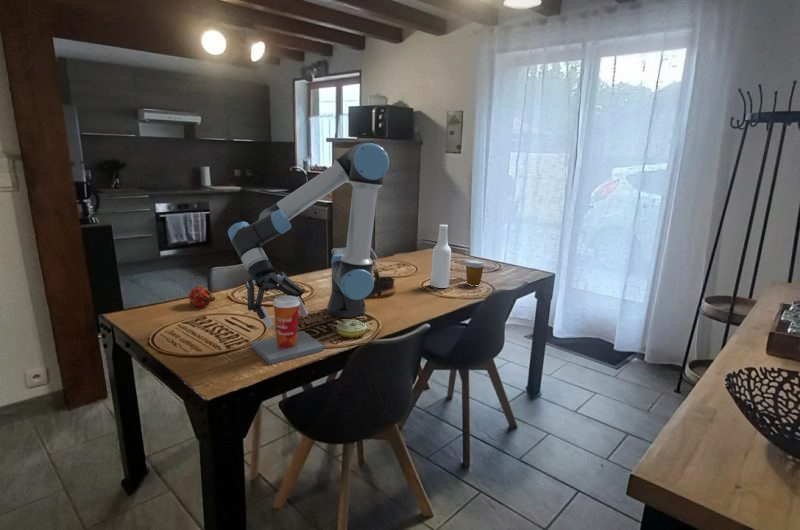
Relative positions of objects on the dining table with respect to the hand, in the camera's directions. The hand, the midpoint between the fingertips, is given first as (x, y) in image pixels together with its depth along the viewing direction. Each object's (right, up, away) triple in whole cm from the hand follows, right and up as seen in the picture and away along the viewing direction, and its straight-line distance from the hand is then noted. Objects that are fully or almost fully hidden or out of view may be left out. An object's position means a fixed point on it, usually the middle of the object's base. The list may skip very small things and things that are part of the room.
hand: (288, 320), depth 141 cm
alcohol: (+54, +7, +77) cm, 94 cm away
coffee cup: (-1, -8, +3) cm, 8 cm away
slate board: (-1, -9, +3) cm, 10 cm away
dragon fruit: (-44, +1, +38) cm, 58 cm away
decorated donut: (+18, -7, +18) cm, 26 cm away
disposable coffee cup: (+71, +7, +83) cm, 109 cm away
